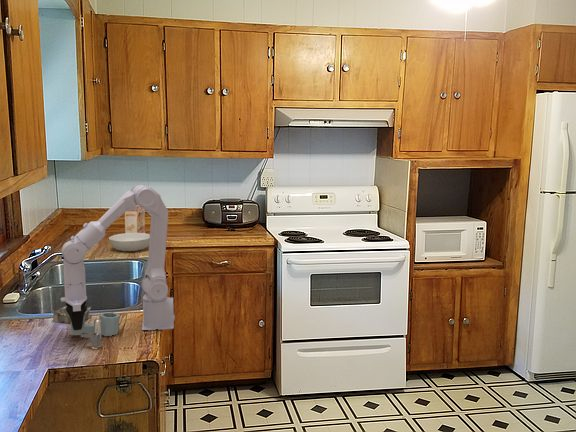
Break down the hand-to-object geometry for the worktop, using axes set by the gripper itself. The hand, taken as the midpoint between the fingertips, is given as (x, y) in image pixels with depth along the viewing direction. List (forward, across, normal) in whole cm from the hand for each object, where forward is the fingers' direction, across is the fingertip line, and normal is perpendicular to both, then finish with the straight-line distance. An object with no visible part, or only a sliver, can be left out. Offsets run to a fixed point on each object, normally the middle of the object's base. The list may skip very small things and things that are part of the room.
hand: (77, 327), depth 157 cm
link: (+2, 0, +5) cm, 5 cm away
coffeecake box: (+3, -140, +35) cm, 145 cm away
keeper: (+3, +9, +3) cm, 10 cm away
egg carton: (+3, -17, -1) cm, 17 cm away
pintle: (+3, +5, +5) cm, 8 cm away
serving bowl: (+4, -114, +29) cm, 118 cm away
